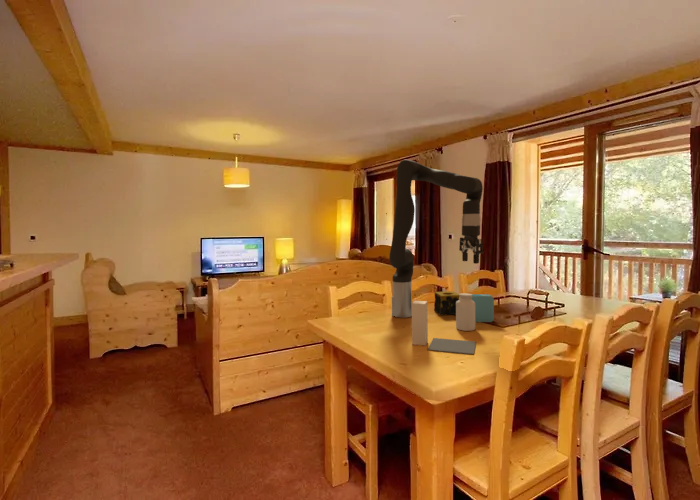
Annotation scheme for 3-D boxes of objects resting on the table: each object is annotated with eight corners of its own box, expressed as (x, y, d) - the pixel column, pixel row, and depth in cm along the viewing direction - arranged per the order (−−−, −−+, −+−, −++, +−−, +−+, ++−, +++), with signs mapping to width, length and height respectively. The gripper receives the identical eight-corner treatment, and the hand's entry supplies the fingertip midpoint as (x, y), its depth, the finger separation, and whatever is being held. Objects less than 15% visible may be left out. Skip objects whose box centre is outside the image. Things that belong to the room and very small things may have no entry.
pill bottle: (476, 327, 167) (476, 293, 166) (474, 332, 159) (474, 296, 158) (457, 325, 170) (457, 292, 169) (454, 330, 163) (454, 295, 162)
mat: (427, 350, 139) (427, 349, 139) (433, 338, 152) (433, 337, 152) (474, 354, 133) (474, 353, 133) (475, 342, 146) (475, 341, 146)
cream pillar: (412, 344, 145) (411, 303, 144) (414, 340, 150) (414, 300, 149) (425, 346, 144) (425, 304, 142) (427, 342, 148) (427, 301, 147)
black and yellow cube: (433, 310, 198) (433, 291, 198) (452, 310, 199) (452, 291, 199) (440, 315, 188) (440, 295, 188) (460, 314, 189) (460, 294, 188)
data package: (491, 319, 178) (491, 294, 177) (493, 322, 174) (494, 296, 173) (465, 319, 180) (465, 294, 179) (466, 321, 176) (466, 296, 175)
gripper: (454, 224, 170) (454, 260, 171) (472, 225, 156) (472, 264, 158) (469, 224, 172) (469, 260, 173) (488, 224, 158) (488, 263, 160)
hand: (470, 262), depth 166 cm, fingers open, 8 cm apart
